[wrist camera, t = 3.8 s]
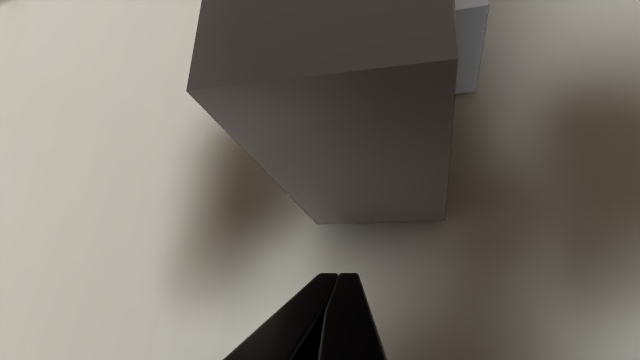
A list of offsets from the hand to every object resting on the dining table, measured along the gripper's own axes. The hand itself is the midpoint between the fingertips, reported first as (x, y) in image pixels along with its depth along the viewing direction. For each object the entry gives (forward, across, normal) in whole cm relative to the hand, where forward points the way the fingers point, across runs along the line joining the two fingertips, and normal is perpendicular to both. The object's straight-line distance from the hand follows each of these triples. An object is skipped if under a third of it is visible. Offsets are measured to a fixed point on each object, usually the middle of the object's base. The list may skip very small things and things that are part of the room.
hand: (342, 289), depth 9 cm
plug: (+9, 0, +1) cm, 9 cm away
